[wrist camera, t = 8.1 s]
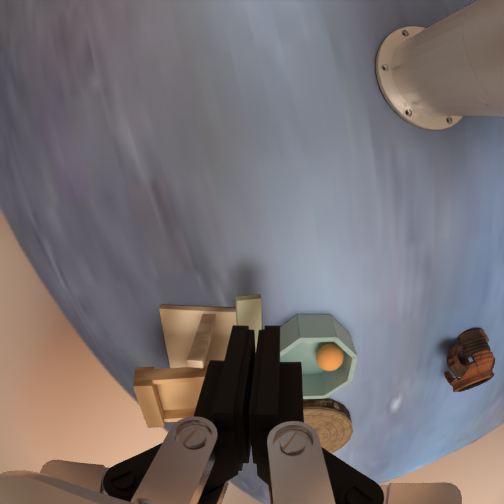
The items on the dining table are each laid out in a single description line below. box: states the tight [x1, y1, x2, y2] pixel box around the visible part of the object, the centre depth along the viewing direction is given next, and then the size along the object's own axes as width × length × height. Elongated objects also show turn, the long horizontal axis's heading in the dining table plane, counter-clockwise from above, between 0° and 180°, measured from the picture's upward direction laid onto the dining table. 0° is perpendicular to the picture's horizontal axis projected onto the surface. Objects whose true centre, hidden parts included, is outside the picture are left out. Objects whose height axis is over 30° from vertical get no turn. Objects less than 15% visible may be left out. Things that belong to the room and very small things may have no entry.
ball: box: [316, 344, 344, 371], centre depth 39 cm, size 4×4×4 cm
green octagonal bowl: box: [280, 314, 357, 399], centre depth 39 cm, size 10×10×5 cm
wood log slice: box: [303, 398, 353, 454], centre depth 46 cm, size 16×16×3 cm
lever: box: [133, 294, 262, 428], centre depth 31 cm, size 14×16×3 cm
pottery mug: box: [445, 329, 495, 392], centre depth 39 cm, size 12×10×8 cm
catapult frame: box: [159, 305, 262, 368], centre depth 37 cm, size 13×12×10 cm
